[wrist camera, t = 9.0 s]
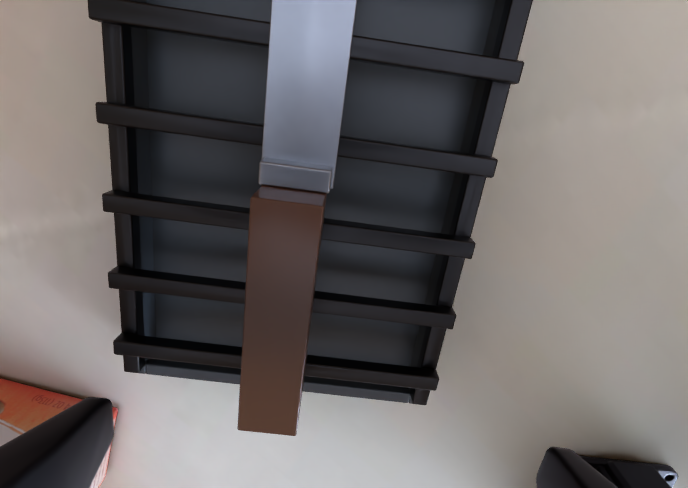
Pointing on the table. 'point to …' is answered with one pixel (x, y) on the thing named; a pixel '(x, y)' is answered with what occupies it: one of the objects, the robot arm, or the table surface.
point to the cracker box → (36, 414)
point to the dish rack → (341, 202)
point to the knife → (291, 204)
